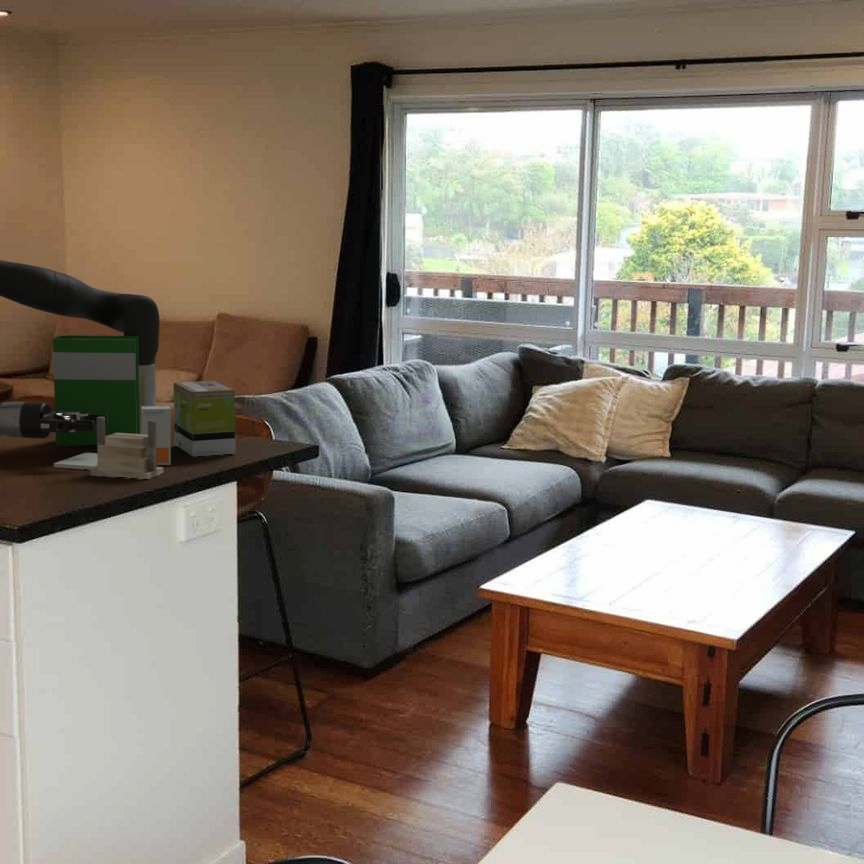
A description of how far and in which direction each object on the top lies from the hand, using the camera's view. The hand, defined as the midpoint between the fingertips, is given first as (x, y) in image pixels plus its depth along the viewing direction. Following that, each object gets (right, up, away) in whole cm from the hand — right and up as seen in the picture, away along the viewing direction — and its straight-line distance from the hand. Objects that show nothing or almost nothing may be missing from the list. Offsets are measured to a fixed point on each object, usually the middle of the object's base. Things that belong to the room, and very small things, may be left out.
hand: (100, 423), depth 252 cm
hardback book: (-7, -4, +24) cm, 25 cm away
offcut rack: (+8, -10, -10) cm, 17 cm away
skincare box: (+11, -9, +1) cm, 14 cm away
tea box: (+18, -6, +18) cm, 26 cm away
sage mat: (-2, -8, 0) cm, 9 cm away
